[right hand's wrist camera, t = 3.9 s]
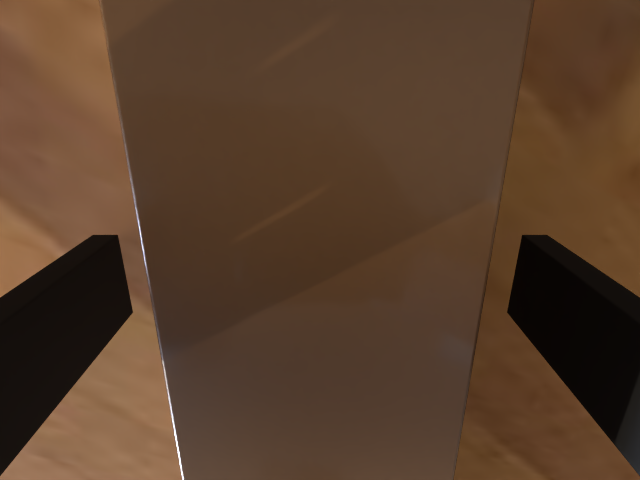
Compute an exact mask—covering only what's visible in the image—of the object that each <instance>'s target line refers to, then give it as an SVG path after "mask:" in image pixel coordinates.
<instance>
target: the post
mask: <svg viewBox="0 0 640 480" xmlns="http://www.w3.org/2000/svg"><path fill="white" fill-rule="evenodd" d="M99 3H100V9H101V15H102V21H103V26H104V32H105V38H106V44H107V49H108V55H109V61H110V67H111V72H112V78H113V84H114V90H115V95H116V101H117V107H118V112H119V118H120V124H121V130H122V135H123V141H124V147H125V153H126V158H127V164H128V170H129V176H130V181H131V187H132V193H133V199H134V204H135V210H136V216H137V222H138V227H139V233H140V239H141V244H142V250H143V256H144V262H145V267H146V273H147V279H148V285H149V290H150V296H151V302H152V308H153V313H154V319H155V325H156V331H157V336H158V342H159V348H160V354H161V359H162V365H163V371H164V376H165V382H166V388H167V394H168V399H169V405H170V411H171V417H172V422H173V428H174V434H175V440H176V445H177V451H178V457H179V463H180V468H181V474H182V480H453V479H454V473H455V467H456V461H457V455H458V449H459V443H460V437H461V431H462V425H463V419H464V414H465V408H466V402H467V396H468V390H469V384H470V378H471V372H472V366H473V360H474V354H475V348H476V343H477V337H478V331H479V325H480V319H481V313H482V307H483V301H484V295H485V289H486V283H487V277H488V271H489V266H490V260H491V254H492V248H493V242H494V236H495V230H496V224H497V218H498V212H499V206H500V200H501V194H502V189H503V183H504V177H505V171H506V165H507V159H508V153H509V147H510V141H511V135H512V129H513V123H514V117H515V112H516V106H517V100H518V94H519V88H520V82H521V76H522V70H523V64H524V58H525V52H526V46H527V41H528V35H529V29H530V23H531V17H532V11H533V5H534V0H99Z"/></svg>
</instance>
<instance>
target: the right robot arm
mask: <svg viewBox="0 0 640 480" xmlns="http://www.w3.org/2000/svg"><path fill="white" fill-rule="evenodd" d="M132 313H133V310H132V305H131V300H130V295H129V290H128V285H127V280H126V275H125V270H124V264H123V259H122V254H121V249H120V244H119V239H118V235H92V236H91V237H89V238H88V239H86V240H85V241H83V242H82V243H80V244H79V245H77V246H76V247H74V248H73V249H72V250H70V251H69V252H67V253H66V254H64V255H63V256H61V257H60V258H58V259H57V260H55V261H54V262H52V263H51V264H49V265H48V266H46V267H45V268H43V269H42V270H40V271H39V272H38V273H36V274H35V275H33V276H32V277H30V278H29V279H27V280H26V281H24V282H23V283H21V284H20V285H18V286H17V287H15V288H14V289H12V290H11V291H9V292H8V293H6V294H5V295H4V296H2V297H1V298H0V476H1V474H2V473H3V472H4V471H5V469H6V468H7V467H8V466H9V465H10V463H11V462H12V461H13V460H14V458H15V457H16V456H17V455H18V453H19V452H20V451H21V450H22V448H23V447H24V446H25V445H26V444H27V442H28V441H29V440H30V439H31V437H32V436H33V435H34V434H35V432H36V431H37V430H38V429H39V428H40V426H41V425H42V424H43V423H44V421H45V420H46V419H47V418H48V416H49V415H50V414H51V413H52V411H53V410H54V409H55V408H56V407H57V405H58V404H59V403H60V402H61V400H62V399H63V398H64V397H65V395H66V394H67V393H68V392H69V391H70V389H71V388H72V387H73V386H74V384H75V383H76V382H77V381H78V379H79V378H80V377H81V376H82V374H83V373H84V372H85V371H86V370H87V368H88V367H89V366H90V365H91V363H92V362H93V361H94V360H95V358H96V357H97V356H98V355H99V353H100V352H101V351H102V350H103V349H104V347H105V346H106V345H107V344H108V342H109V341H110V340H111V339H112V337H113V336H114V335H115V334H116V333H117V331H118V330H119V329H120V328H121V326H122V325H123V324H124V323H125V321H126V320H127V319H128V318H129V316H130V315H131V314H132ZM507 313H508V314H509V315H510V316H511V318H512V319H513V320H514V321H515V323H516V324H517V325H518V326H519V328H520V329H521V330H522V331H523V333H524V334H525V335H526V336H527V337H528V339H529V340H530V341H531V342H532V344H533V345H534V346H535V347H536V349H537V350H538V351H539V352H540V353H541V355H542V356H543V357H544V358H545V360H546V361H547V362H548V363H549V365H550V366H551V367H552V368H553V370H554V371H555V372H556V373H557V374H558V376H559V377H560V378H561V379H562V381H563V382H564V383H565V384H566V386H567V387H568V388H569V389H570V390H571V392H572V393H573V394H574V395H575V397H576V398H577V399H578V400H579V402H580V403H581V404H582V405H583V407H584V408H585V409H586V410H587V411H588V413H589V414H590V415H591V416H592V418H593V419H594V420H595V421H596V423H597V424H598V425H599V426H600V427H601V429H602V430H603V431H604V432H605V434H606V435H607V436H608V437H609V439H610V440H611V441H612V442H613V444H614V445H615V446H616V447H617V448H618V450H619V451H620V452H621V453H622V455H623V456H624V457H625V458H626V460H627V461H628V462H629V463H630V465H631V466H632V467H633V468H634V469H635V471H636V472H637V473H638V474H639V476H640V298H639V297H638V296H637V295H635V294H634V293H632V292H631V291H629V290H628V289H626V288H625V287H623V286H622V285H620V284H619V283H617V282H616V281H614V280H613V279H611V278H610V277H608V276H607V275H605V274H604V273H602V272H601V271H600V270H598V269H597V268H595V267H594V266H592V265H591V264H589V263H588V262H586V261H585V260H583V259H582V258H580V257H579V256H577V255H576V254H574V253H573V252H571V251H570V250H568V249H567V248H566V247H564V246H563V245H561V244H560V243H558V242H557V241H555V240H554V239H552V238H551V237H549V236H548V235H522V239H521V244H520V249H519V254H518V259H517V264H516V270H515V275H514V280H513V285H512V290H511V295H510V300H509V305H508V311H507Z"/></svg>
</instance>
